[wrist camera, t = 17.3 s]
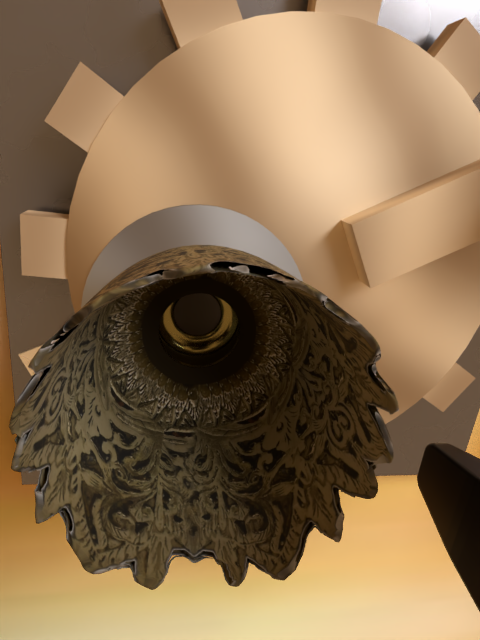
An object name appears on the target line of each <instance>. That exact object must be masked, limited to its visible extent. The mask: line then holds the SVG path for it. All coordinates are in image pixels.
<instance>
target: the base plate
mask: <svg viewBox="0 0 480 640" xmlns="http://www.w3.org/2000/svg"><path fill="white" fill-rule="evenodd" d="M236 1H237V4H238V7H239V10H240V13H241V16H242V19H243V20H245V19H248V18H251V17H255V16H260V15H267V14H274V13H282V12H289V11H304V12H307V6H308V0H236ZM465 17H466V18H467V19H468V20H469V22H470V23H471V24H472V25H473V27H474V28H475V29H476V30H477V31H478V33H479V34H480V0H382V2H381V7H380V12H379V17H378V21H377V25H379V26H382V27H385V28H387V29H390V30H392V31H394V32H395V33H397V34H399V35H401V36H403V37H404V38H406V39H408V40H410V41H411V42H413V43H415V44H417V45H418V46H420V47H421V48H422V49H423V50H425V51H426V52H427V51H428V49H429V48H430V47H431V45H432V44H433V43H434V42H435V40H436V39H437V38H438V36H439V35H440V34H441V33H442V31H443V30H444V29H445V27H446V26H447V25H448V24H451V23H453V22H455V21H458V20H460V19H463V18H465ZM177 50H178V48H177V46H176V43H175V41H174V38H173V36H172V33H171V31H170V28H169V26H168V23H167V20H166V18H165V15H164V13H163V10H162V8H161V5H160V3H159V0H0V243H1V254H2V265H3V276H4V287H5V298H6V309H7V320H8V332H9V343H10V354H11V365H12V376H13V387H14V398H15V405H16V402H17V400H18V398H19V396H20V395H21V393H22V392H23V390H24V389H25V387H26V385H27V384H28V382H29V381H30V379H31V378H32V376H33V375H34V374H35V373H34V371H33V370H32V369H31V368H28V365H29V363H30V361H31V360H32V358H33V357H34V356H35V354H36V353H37V351H38V350H39V349H40V347H41V346H43V345H44V344H45V343H46V342H47V341H48V340H49V339H50V338H52V337H53V336H54V335H55V334H56V333H57V332H58V331H59V330H60V329H61V328H62V327H63V325H64V324H65V323H66V322H67V321H68V320H69V319H70V318H71V316H73V315H74V314H75V311H74V308H73V304H72V301H71V295H70V289H69V283H68V279H59V278H48V277H36V276H25V275H22V266H21V234H20V214H21V213H23V212H25V211H27V210H35V211H44V212H53V213H61V214H69V212H70V206H71V202H72V198H73V195H74V191H75V187H76V183H77V180H78V176H79V174H80V171H81V169H82V166H83V164H84V162H85V159H86V157H87V155H88V152H86V151H85V150H83V149H82V148H81V147H79V146H78V145H77V144H75V143H74V142H72V141H71V140H70V139H68V138H67V137H66V136H64V135H63V134H62V133H60V132H59V131H57V130H56V129H55V128H53V127H52V126H51V125H49V124H48V123H46V122H45V121H44V120H45V119H46V117H47V116H48V114H49V112H50V111H51V109H52V107H53V106H54V104H55V102H56V101H57V99H58V97H59V96H60V94H61V92H62V91H63V89H64V87H65V86H66V84H67V82H68V81H69V79H70V78H71V76H72V74H73V73H74V71H75V69H76V68H77V66H78V64H79V63H80V62H82V63H83V64H84V65H85V66H87V67H88V68H89V69H90V70H92V71H93V72H94V73H95V74H97V75H98V76H99V77H100V78H102V79H103V80H104V81H105V82H107V83H108V84H109V85H110V86H112V87H113V88H114V89H115V90H117V91H118V92H119V93H120V94H122V95H123V96H124V97H125V95H126V94H127V93H128V92H129V90H130V89H131V88H132V87H133V86H134V85H135V84H136V83H137V82H138V81H139V80H140V79H141V78H143V77H144V76H145V75H146V74H147V73H148V72H149V71H150V70H151V69H152V68H153V67H155V66H156V65H157V64H158V63H159V62H160V61H162V60H163V59H165V58H166V57H168V56H169V55H171V54H172V53H174V52H175V51H177ZM473 103H474V104H475V106H476V107H477V109H478V110H479V112H480V92H479V93H478V95H477V96H476V97H475V98H474V99H473ZM456 363H457V364H459V365H460V366H461V367H462V368H464V369H465V370H466V371H467V372H469V373H470V374H471V375H472V376H474V377H475V379H474V381H473V382H472V383H471V384H470V385H469V386H468V387H467V388H466V389H465V390H464V391H463V392H462V393H461V394H460V395H459V396H458V397H457V398H456V399H455V400H454V401H453V402H452V403H451V404H450V405H449V407H448V408H447V409H446V410H445V411H444V412H442V411H441V410H439V409H438V408H437V407H435V406H434V405H432V404H431V403H430V402H428V401H427V400H426V399H424V398H423V397H422V398H421V399H420V400H419V401H418V402H417V403H416V404H414V405H413V406H411V407H410V408H409V409H407V410H406V411H405V412H403V413H402V414H400V415H399V416H398V417H396V418H395V419H393V420H392V421H390V422H388V423H386V424H385V425H386V427H387V430H388V432H389V435H390V438H391V441H392V445H393V452H394V458H393V461H392V462H391V463H382V464H376V466H377V467H376V469H375V470H374V472H375V476H387V475H418V471H419V467H420V464H421V460H422V457H423V453H424V450H425V447H426V446H427V445H428V444H430V443H449V444H451V445H453V446H455V447H457V448H459V449H461V450H463V451H466V448H467V445H468V442H469V439H470V436H471V433H472V430H473V427H474V424H475V421H476V418H477V414H478V411H479V408H480V325H479V327H478V329H477V330H476V332H475V334H474V335H473V337H472V339H471V341H470V342H469V344H468V346H467V347H466V349H465V350H464V351H463V353H462V354H461V355H460V357H459V358H458V360H457V361H456ZM374 463H375V462H374ZM40 472H41V470H38V471H37V470H35V471H33V472H30V473H29V472H28V471H25V472H21V476H22V485H24V484H38V480H39V475H40Z"/></svg>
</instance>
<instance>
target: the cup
mask: <svg viewBox="0 0 480 640" xmlns="http://www.w3.org/2000/svg"><path fill="white" fill-rule="evenodd" d="M197 293H203V294H209V295H211V296H212V297H214V298H215V299H216V301H217V302H218V304H219V306H220V310H221V316H220V320H219V322H218V324H217V326H216V327H215V328H214V329H213V330H211V331H210V332H208V333H206V334H202V335H192V334H188V333H186V332H184V331H183V330H182V329H181V328H180V327H179V326H178V325H177V323H176V321H175V317H174V310H175V307H176V304H177V302H178V301H179V300H180V299H181V298H182V297H184V296H187V295H191V294H197ZM380 358H381V350H380V346H379V344H378V342H377V341H376V339H375V338H374V337H373V335H372V334H371V333H370V332H369V331H368V330H367V329H366V328H365V327H364V326H363V325H362V324H360V323H359V322H358V321H357V320H356V319H355V318H353V317H352V316H351V315H350V314H348V313H347V312H346V311H344V310H343V309H342V308H340V307H339V306H338V305H337V304H335V303H334V302H333V301H332V300H331V299H329V297H327V296H326V295H325V294H323V293H322V292H320V291H319V290H317V289H315V288H314V287H312V286H310V285H308V284H306V283H304V282H303V281H300V280H299V279H297V278H295V277H294V276H292V275H291V274H289V273H287V272H286V271H284V270H282V269H280V268H279V267H277V266H275V265H273V264H271V263H269V262H267V261H266V260H264V259H262V258H259V257H257V256H255V255H252V254H249V253H247V252H244V251H241V250H237V249H233V248H229V247H223V246H215V245H189V246H181V247H177V248H172V249H168V250H165V251H162V252H159V253H156V254H154V255H151V256H149V257H147V258H145V259H143V260H140V261H139V262H137V263H135V264H134V265H132V266H130V267H129V268H127V269H126V270H124V271H123V272H122V273H120V274H119V275H118V276H116V277H115V278H114V279H113V280H111V281H110V282H109V283H108V284H107V285H105V286H104V287H103V288H102V289H101V290H100V291H99V292H98V293H97V294H96V295H95V296H93V297H92V298H91V299H90V300H89V301H88V302H87V303H86V304H85V305H84V306H83V307H82V308H81V309H80V310H79V311H78V312H76V313H75V314H74V315H73V316H71V318H70V319H69V320H68V321H67V322H66V323H65V324H64V325H63V327H62V328H61V329H60V330H59V331H58V332H57V333H56V334H55V335H54V336H53V337H52V338H50V339H49V340H48V341H47V342H46V343H45V344H44V345H43V346H41V347H40V349H39V350H38V351H37V353H36V354H35V356H34V357H33V358H32V360H31V361H30V363H29V365H28V368H31V369H32V370H33V371H34V373H35V374H34V375H33V376H32V378H31V379H30V381H29V382H28V384H27V385H26V387H25V389H24V390H23V392H22V393H21V395H20V396H19V398H18V400H17V402H16V405H15V407H14V410H13V412H12V415H11V419H10V424H9V428H10V429H11V433H12V434H17V437H16V439H15V442H16V444H17V446H16V450H15V453H14V456H13V460H12V466H11V469H12V470H14V471H18V472H25V471H28V472H29V473H30V472H33V471H35V470H37V471H38V470H41V472H40V475H39V480H38V485H37V487H36V489H35V500H36V507H35V518H36V523H38V524H39V523H42V522H44V521H46V520H48V519H49V518H50V517H52V516H54V515H55V514H57V513H60V515H61V517H62V518H63V520H64V522H65V525H66V533H67V534H66V538H67V541H68V543H69V544H70V546H71V547H72V549H73V551H74V552H75V554H76V555H77V557H78V558H79V560H80V562H81V564H82V566H83V568H84V569H85V570H86V571H87V572H89V573H92V574H100V573H104V572H106V571H109V570H113V569H121V568H131V570H132V572H133V577H134V580H135V581H136V582H137V583H139V584H140V585H142V586H144V587H146V588H149V589H151V590H153V589H156V588H157V587H158V586H159V585H160V584H161V583H162V582H163V581H164V578H165V576H166V574H167V573H168V568H169V565H170V563H171V561H172V560H173V559H174V558H175V557H182V556H183V557H185V558H187V559H189V560H190V561H191V562H193V563H196V562H198V561H201V560H202V559H204V558H209V557H213V558H212V559H215V561H216V563H217V564H219V565H221V567H222V569H223V573H224V577H225V580H226V582H227V583H228V584H229V585H230V586H235V587H237V586H239V585H240V584H241V583H242V582H243V580H244V579H245V576H246V574H247V569H248V564H249V563H251V564H253V565H255V566H256V567H257V568H258V569H259V570H261V571H263V572H265V573H267V574H269V575H270V576H271V577H272V578H274V579H278V580H285V579H286V578H287V577H288V576H290V575H291V574H292V573H293V572H294V571H295V570H296V568H297V566H298V563H299V561H300V559H301V557H302V555H303V552H304V548H305V543H306V539H307V536H308V534H309V533H310V532H311V531H312V530H313V528H314V527H316V528H317V529H318V530H319V531H320V533H323V534H324V535H325V536H327V537H329V538H331V539H333V540H334V541H335V542H340V540H341V536H342V531H343V520H344V514H343V511H342V508H341V505H340V497H339V490H341V492H344V493H346V494H348V495H350V496H352V497H355V496H357V497H361V498H365V499H371V498H374V497H375V496H376V494H377V492H378V483H377V479H376V476H375V472H374V470H375V469H376V467H377V466H376V464H382V463H391V462H392V461H393V458H394V452H393V445H392V441H391V438H390V435H389V432H388V430H387V427H386V425H385V423H384V420H383V419H382V417H381V415H380V413H379V411H378V409H377V407H378V408H380V409H382V410H385V411H386V412H389V414H391V415H392V414H394V413H395V412H397V411H399V405H398V401H397V398H396V396H395V393H394V392H393V390H392V389H391V388H390V387H389V386H388V384H387V383H386V382H385V381H384V380H383V378H382V377H381V376H380V375H379V373H378V371H377V367H376V362H377V361H379V360H380ZM374 462H375V463H374ZM314 525H316V526H314ZM172 555H178V556H175V557H173V558H172V559H171V560H170V558H171V556H172ZM204 556H209V557H204ZM169 560H170V561H169ZM168 562H169V563H168Z"/></svg>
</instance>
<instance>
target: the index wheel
mask: <svg viewBox="0 0 480 640" xmlns="http://www.w3.org/2000/svg"><path fill="white" fill-rule="evenodd" d="M381 2H382V0H308V6H307V12H304V11H289V12H282V13H274V14H267V15H260V16H255V17H251V18H248V19H245V20H243V19H242V16H241V13H240V10H239V7H238V4H237V1H236V0H159V3H160V5H161V8H162V10H163V13H164V15H165V18H166V20H167V23H168V26H169V28H170V31H171V33H172V36H173V38H174V41H175V43H176V46H177V48H178V50H177V51H175V52H174V53H172V54H171V55H169V56H168V57H166V58H165V59H163V60H162V61H160V62H159V63H158V64H157V65H156V66H155V67H153V68H152V69H151V70H150V71H149V72H148V73H147V74H146V75H145V76H144V77H143V78H141V79H140V80H139V81H138V82H137V83H136V84H135V85H134V86H133V87H132V88H131V89H130V90H129V92H128V93H127V94H126V95H125V97H124V96H123V95H122V94H120V93H119V92H118V91H117V90H115V89H114V88H113V87H112V86H110V85H109V84H108V83H107V82H105V81H104V80H103V79H102V78H100V77H99V76H98V75H97V74H95V73H94V72H93V71H92V70H90V69H89V68H88V67H87V66H85V65H84V64H83V63H82V62H80V63H79V64H78V66H77V68H76V69H75V71H74V73H73V74H72V76H71V78H70V79H69V81H68V82H67V84H66V86H65V87H64V89H63V91H62V92H61V94H60V96H59V97H58V99H57V101H56V102H55V104H54V106H53V107H52V109H51V111H50V112H49V114H48V116H47V117H46V119H45V120H44V121H45V122H46V123H48V124H49V125H51V126H52V127H53V128H55V129H56V130H57V131H59V132H60V133H62V134H63V135H64V136H66V137H67V138H68V139H70V140H71V141H72V142H74V143H75V144H77V145H78V146H79V147H81V148H82V149H83V150H85V151H86V152H88V155H87V157H86V159H85V162H84V164H83V166H82V169H81V171H80V174H79V176H78V180H77V183H76V187H75V191H74V195H73V198H72V202H71V206H70V212H69V214H61V213H53V212H44V211H35V210H27V211H25V212H23V213H21V214H20V234H21V266H22V275H25V276H36V277H48V278H59V279H68V283H69V289H70V295H71V301H72V304H73V308H74V311H75V313H76V312H78V311H79V310H80V309H81V308H82V307H83V306H84V305H85V304H86V303H87V302H88V301H89V300H90V299H91V298H92V297H93V296H95V295H96V294H97V293H98V292H99V291H100V290H101V289H102V288H103V287H104V286H105V285H107V284H108V283H109V282H110V281H111V280H113V279H114V278H115V277H116V276H118V275H119V274H120V273H122V272H123V271H124V270H126V269H127V268H129V267H130V266H132V265H134V264H135V263H137V262H139V261H140V260H143V259H145V258H147V257H149V256H151V255H154V254H156V253H159V252H162V251H165V250H168V249H172V248H177V247H181V246H189V245H215V246H223V247H229V248H233V249H237V250H241V251H244V252H247V253H249V254H252V255H255V256H257V257H259V258H262V259H264V260H266V261H267V262H269V263H271V264H273V265H275V266H277V267H279V268H280V269H282V270H284V271H286V272H287V273H289V274H291V275H292V276H294V277H295V278H297V279H299V280H300V281H303V282H304V283H306V284H308V285H310V286H312V287H314V288H315V289H317V290H319V291H320V292H322V293H323V294H325V295H326V296H327V297H329V299H331V300H332V301H333V302H334V303H335V304H337V305H338V306H339V307H340V308H342V309H343V310H344V311H346V312H347V313H348V314H350V315H351V316H352V317H353V318H355V319H356V320H357V321H358V322H359V323H360V324H362V325H363V326H364V327H365V328H366V329H367V330H368V331H369V332H370V333H371V334H372V335H373V337H374V338H375V339H376V341H377V342H378V344H379V346H380V350H381V358H380V360H379V361H377V362H376V367H377V371H378V373H379V375H380V376H381V377H382V378H383V380H384V381H385V382H386V383H387V384H388V386H389V387H390V388H391V389H392V390H393V392H394V393H395V396H396V398H397V401H398V405H399V411H397V412H395V413H394V414H392V415H391V414H389V412H386V411H385V410H382V409H380V408H378V407H377V409H378V411H379V413H380V415H381V417H382V419H383V420H384V423H385V424H386V423H388V422H390V421H392V420H393V419H395V418H396V417H398V416H399V415H400V414H402V413H403V412H405V411H406V410H407V409H409V408H410V407H411V406H413V405H414V404H416V403H417V402H418V401H419V400H420V399H421V398H422V397H423V398H424V399H426V400H427V401H428V402H430V403H431V404H432V405H434V406H435V407H437V408H438V409H439V410H441V411H442V412H444V411H445V410H446V409H447V408H448V407H449V405H450V404H451V403H452V402H453V401H454V400H455V399H456V398H457V397H458V396H459V395H460V394H461V393H462V392H463V391H464V390H465V389H466V388H467V387H468V386H469V385H470V384H471V383H472V382H473V381H474V379H475V377H474V376H472V375H471V374H470V373H469V372H467V371H466V370H465V369H464V368H462V367H461V366H460V365H459V364H457V363H456V361H457V360H458V358H459V357H460V355H461V354H462V353H463V351H464V350H465V349H466V347H467V346H468V344H469V342H470V341H471V339H472V337H473V335H474V334H475V332H476V330H477V329H478V327H479V325H480V112H479V110H478V109H477V107H476V106H475V104H474V103H473V99H474V98H475V97H476V96H477V95H478V93H479V92H480V34H479V33H478V31H477V30H476V29H475V28H474V27H473V25H472V24H471V23H470V22H469V20H468V19H467V18H466V17H465V18H463V19H460V20H458V21H455V22H453V23H451V24H448V25H447V26H446V27H445V29H444V30H443V31H442V33H441V34H440V35H439V36H438V38H437V39H436V40H435V42H434V43H433V44H432V45H431V47H430V48H429V49H428V51H427V52H426V51H425V50H423V49H422V48H421V47H420V46H418V45H417V44H415V43H413V42H411V41H410V40H408V39H406V38H404V37H403V36H401V35H399V34H397V33H395V32H394V31H392V30H390V29H387V28H385V27H382V26H379V25H377V21H378V17H379V12H380V7H381ZM220 316H221V310H220V306H219V304H218V302H217V301H216V299H215V298H214V297H212V296H211V295H209V294H203V293H197V294H191V295H187V296H184V297H182V298H181V299H180V300H179V301H178V302H177V304H176V307H175V310H174V317H175V321H176V323H177V325H178V326H179V327H180V328H181V329H182V330H183V331H184V332H186V333H188V334H192V335H202V334H206V333H208V332H210V331H211V330H213V329H214V328H215V327H216V326H217V324H218V322H219V320H220Z"/></svg>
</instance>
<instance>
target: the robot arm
mask: <svg viewBox="0 0 480 640" xmlns="http://www.w3.org/2000/svg"><path fill="white" fill-rule="evenodd" d="M417 481H418V486H419V489H420V491H421V493H422V496H423V498H424V500H425V502H426V505H427V507H428V509H429V512H430V514H431V516H432V518H433V521H434V523H435V525H436V528H437V530H438V532H439V535H440V537H441V539H442V541H443V544H444V546H445V548H446V550H447V552H448V554H449V556H450V558H451V560H452V562H453V564H454V566H455V568H456V570H457V572H458V573H459V575H460V577H461V579H462V581H463V582H464V584H465V586H466V588H467V590H468V591H469V593H470V595H471V597H472V599H473V601H474V602H475V604H476V606H477V608H478V610H479V611H480V459H479V458H477V457H475V456H473V455H471V454H469V453H467V452H465V451H463V450H461V449H459V448H457V447H455V446H453V445H451V444H449V443H430V444H428V445H427V446H426V447H425V450H424V453H423V457H422V460H421V464H420V467H419V471H418V475H417Z"/></svg>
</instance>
